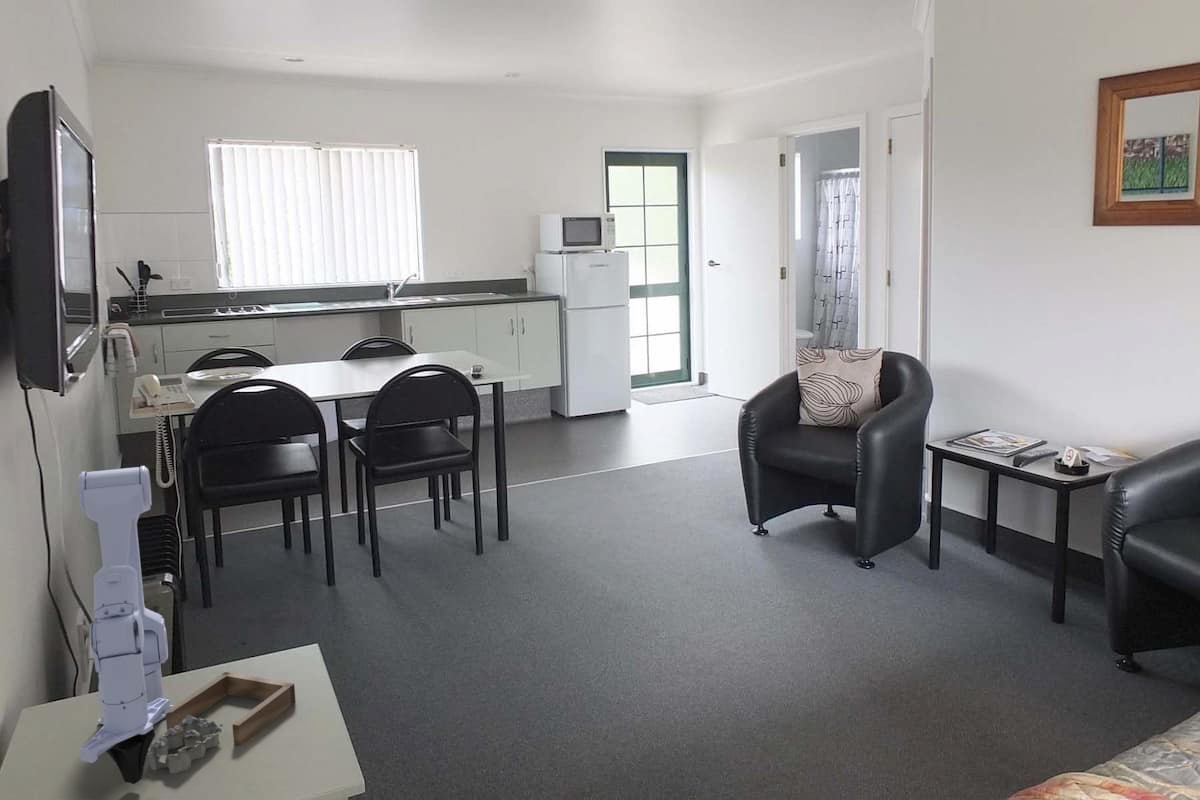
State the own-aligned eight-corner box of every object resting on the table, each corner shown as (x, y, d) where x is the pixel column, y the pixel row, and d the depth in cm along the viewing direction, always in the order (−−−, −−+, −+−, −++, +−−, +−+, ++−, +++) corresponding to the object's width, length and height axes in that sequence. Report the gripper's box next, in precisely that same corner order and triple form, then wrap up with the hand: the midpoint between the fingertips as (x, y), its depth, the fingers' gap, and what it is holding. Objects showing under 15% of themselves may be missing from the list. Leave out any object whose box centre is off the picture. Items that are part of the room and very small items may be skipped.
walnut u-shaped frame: (167, 731, 150) (165, 711, 150) (227, 690, 164) (225, 671, 163) (240, 745, 146) (238, 725, 145) (295, 702, 159) (294, 683, 159)
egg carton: (179, 778, 138) (176, 753, 137) (140, 769, 140) (137, 744, 140) (228, 740, 148) (226, 717, 147) (191, 732, 150) (189, 709, 150)
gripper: (104, 724, 124) (114, 815, 127) (183, 675, 138) (191, 758, 140) (64, 716, 126) (75, 805, 129) (145, 669, 140) (154, 750, 142)
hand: (133, 780), depth 135 cm, fingers closed
